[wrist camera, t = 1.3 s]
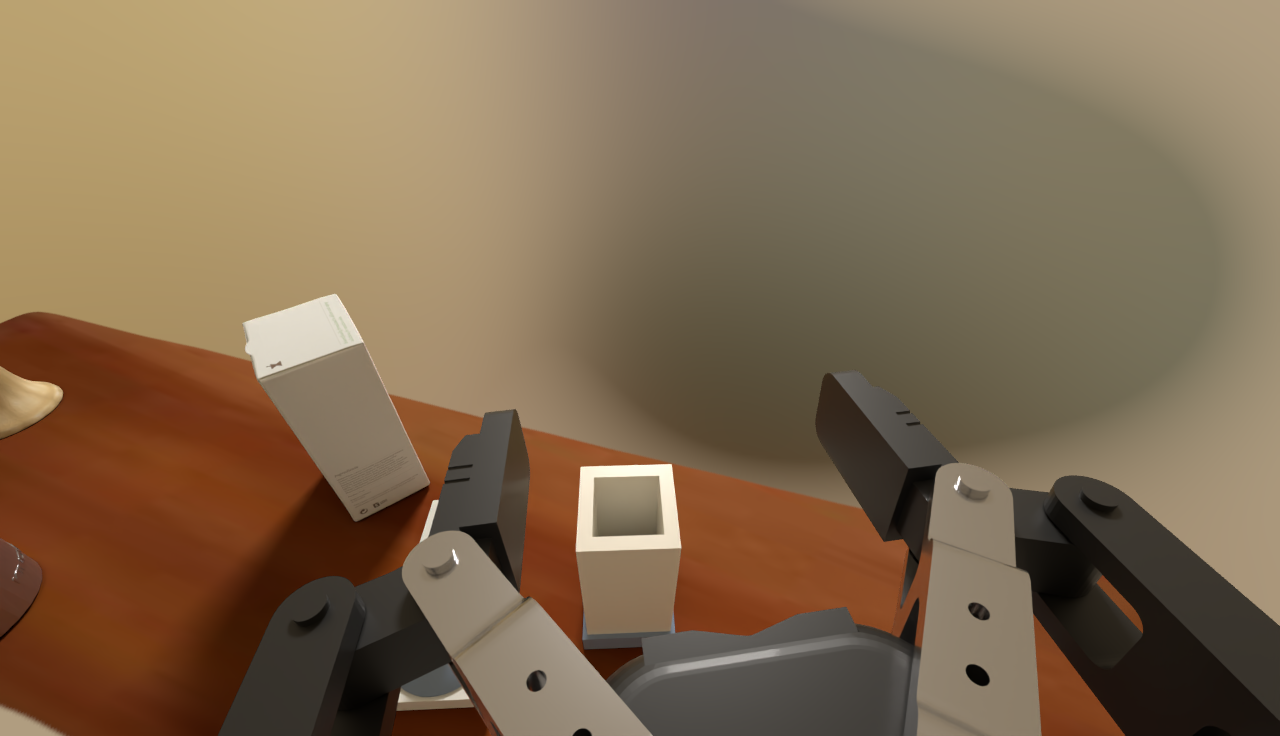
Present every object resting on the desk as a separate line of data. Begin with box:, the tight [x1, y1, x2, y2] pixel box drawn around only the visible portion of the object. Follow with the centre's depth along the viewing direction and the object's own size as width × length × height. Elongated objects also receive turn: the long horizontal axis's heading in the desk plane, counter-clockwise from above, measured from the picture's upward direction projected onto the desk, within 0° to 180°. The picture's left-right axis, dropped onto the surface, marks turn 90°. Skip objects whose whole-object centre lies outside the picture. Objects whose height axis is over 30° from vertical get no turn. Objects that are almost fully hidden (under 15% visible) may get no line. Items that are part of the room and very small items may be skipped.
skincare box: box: [243, 294, 430, 522], centre depth 38 cm, size 8×7×16 cm
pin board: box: [396, 500, 474, 711], centre depth 34 cm, size 14×7×5 cm, turn 3°
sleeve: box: [576, 464, 681, 649], centre depth 31 cm, size 6×6×12 cm
